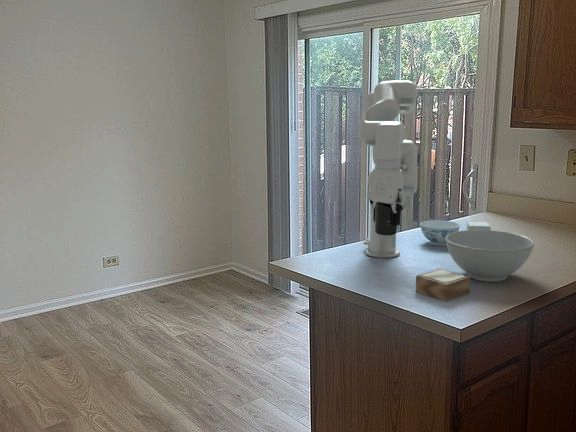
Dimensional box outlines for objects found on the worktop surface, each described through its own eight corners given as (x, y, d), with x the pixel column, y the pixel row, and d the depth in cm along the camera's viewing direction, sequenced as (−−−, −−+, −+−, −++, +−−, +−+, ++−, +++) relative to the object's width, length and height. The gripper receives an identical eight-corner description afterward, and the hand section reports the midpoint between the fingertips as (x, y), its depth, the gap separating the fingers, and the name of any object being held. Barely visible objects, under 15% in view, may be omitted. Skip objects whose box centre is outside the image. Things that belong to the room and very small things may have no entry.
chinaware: (412, 240, 231) (413, 222, 229) (444, 237, 235) (445, 219, 234) (432, 249, 217) (433, 230, 215) (466, 246, 222) (467, 226, 220)
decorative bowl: (480, 259, 203) (482, 226, 201) (549, 278, 181) (552, 241, 179) (426, 272, 189) (427, 237, 187) (494, 295, 167) (496, 255, 165)
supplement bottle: (392, 236, 171) (393, 197, 169) (371, 234, 175) (371, 195, 172) (400, 232, 177) (401, 193, 174) (380, 229, 180) (380, 192, 178)
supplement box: (489, 261, 201) (491, 226, 198) (467, 260, 202) (468, 225, 200) (486, 255, 208) (488, 221, 205) (465, 255, 209) (466, 221, 207)
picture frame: (415, 291, 171) (416, 275, 170) (439, 284, 178) (439, 267, 177) (446, 301, 163) (446, 284, 162) (469, 293, 169) (470, 276, 168)
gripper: (358, 163, 176) (357, 220, 180) (401, 168, 162) (399, 230, 166) (375, 161, 180) (374, 216, 184) (418, 166, 167) (416, 226, 170)
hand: (386, 222), depth 175 cm, fingers closed on supplement bottle, 6 cm apart
